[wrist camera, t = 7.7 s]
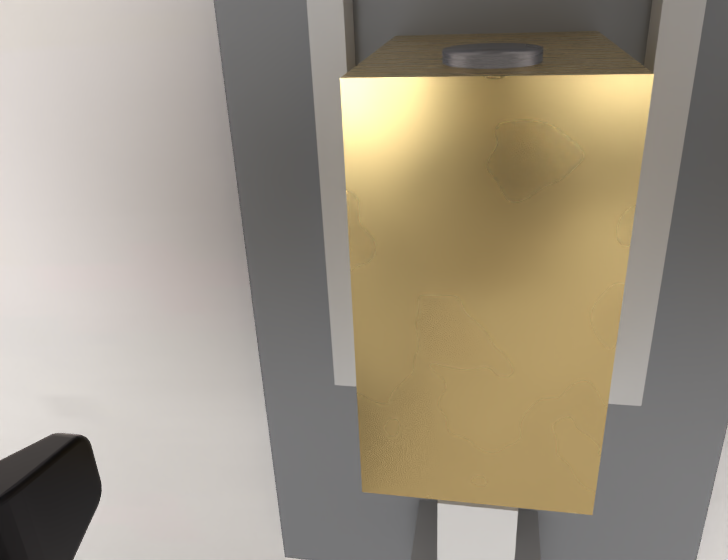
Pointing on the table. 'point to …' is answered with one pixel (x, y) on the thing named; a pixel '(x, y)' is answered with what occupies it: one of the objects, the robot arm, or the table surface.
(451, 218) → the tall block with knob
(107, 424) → the table surface
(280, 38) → the shaft rig
